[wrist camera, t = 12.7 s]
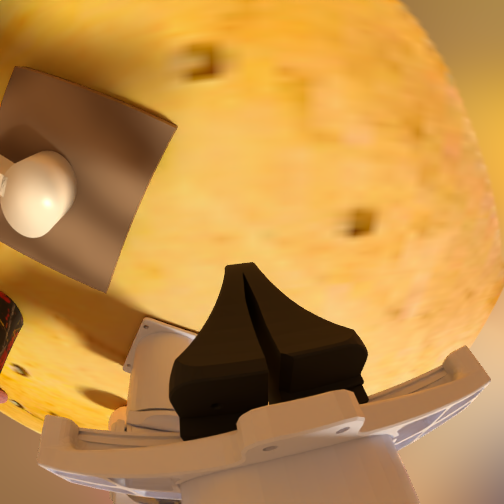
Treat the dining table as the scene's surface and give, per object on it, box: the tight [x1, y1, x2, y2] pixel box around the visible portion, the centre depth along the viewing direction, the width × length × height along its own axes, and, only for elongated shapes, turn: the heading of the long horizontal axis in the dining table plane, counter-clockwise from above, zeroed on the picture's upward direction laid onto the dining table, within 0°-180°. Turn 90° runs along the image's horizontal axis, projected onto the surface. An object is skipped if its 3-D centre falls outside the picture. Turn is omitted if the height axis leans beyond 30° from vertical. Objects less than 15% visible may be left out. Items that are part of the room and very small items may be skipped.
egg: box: [109, 406, 127, 431], centre depth 29 cm, size 5×5×7 cm
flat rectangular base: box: [0, 66, 178, 293], centre depth 16 cm, size 14×14×2 cm
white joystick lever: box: [0, 151, 77, 238], centre depth 12 cm, size 12×5×3 cm, turn 53°
